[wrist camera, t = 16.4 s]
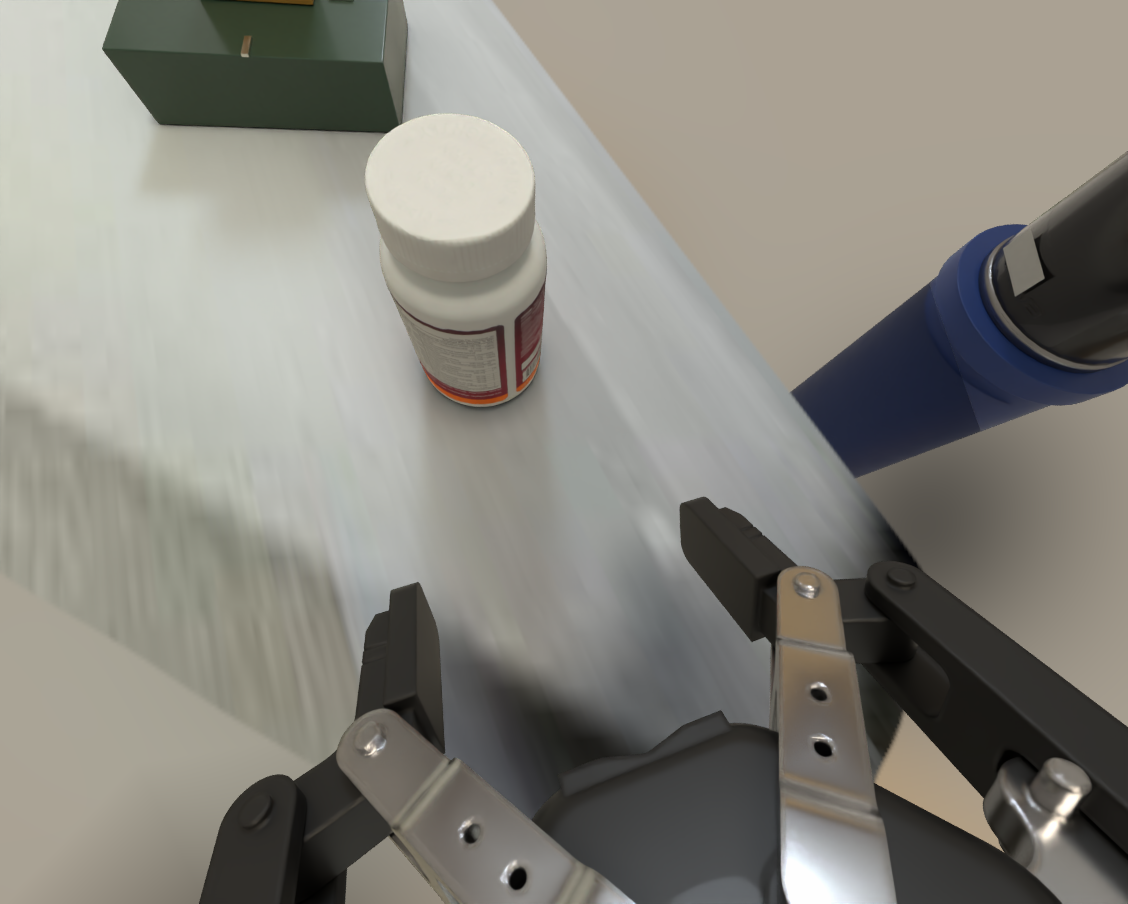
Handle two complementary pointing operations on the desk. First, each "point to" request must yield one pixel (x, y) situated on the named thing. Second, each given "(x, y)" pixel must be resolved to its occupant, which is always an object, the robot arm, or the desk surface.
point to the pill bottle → (462, 252)
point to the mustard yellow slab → (286, 1)
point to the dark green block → (264, 62)
